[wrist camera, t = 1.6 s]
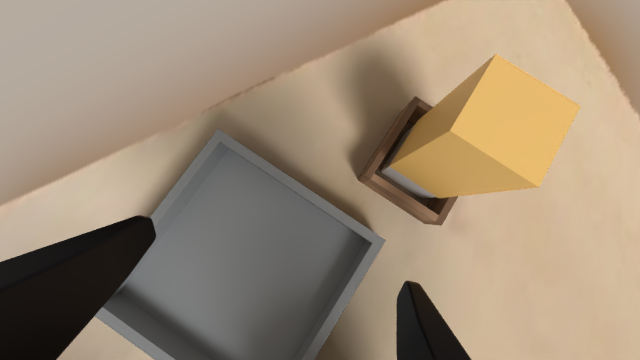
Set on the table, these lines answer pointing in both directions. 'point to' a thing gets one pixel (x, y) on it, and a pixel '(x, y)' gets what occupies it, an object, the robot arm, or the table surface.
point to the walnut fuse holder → (427, 215)
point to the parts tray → (241, 265)
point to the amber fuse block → (484, 136)
